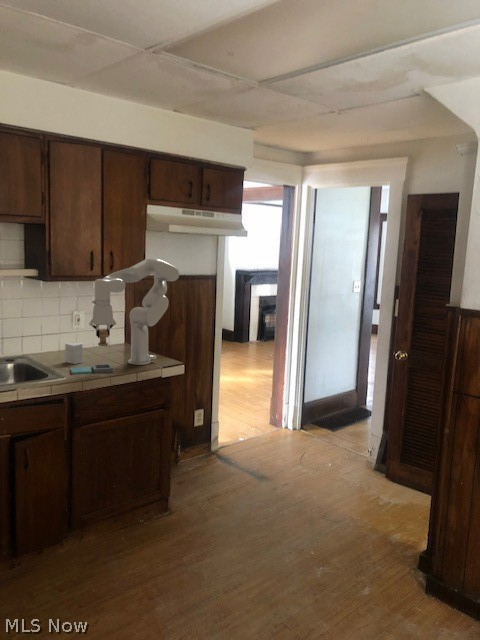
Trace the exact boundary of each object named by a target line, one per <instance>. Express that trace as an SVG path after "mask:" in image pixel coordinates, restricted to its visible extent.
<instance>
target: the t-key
mask: <svg viewBox="0 0 480 640" xmlns="http://www.w3.org/2000/svg"><path fill="white" fill-rule="evenodd" d="M106 329H107V327H106V328H105V327H104V328H99V337H100V338H99V342H98V343H97V346H99V347H107V346H109V342H108V341H107V337H108V331H107V330H106ZM108 338H109V337H108Z"/></svg>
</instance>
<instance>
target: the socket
mask: <svg viewBox="0 0 480 640" xmlns="http://www.w3.org/2000/svg"><path fill="white" fill-rule="evenodd" d="M91 370H92V372H93V374H101V373H102V374H103V373H104V374H105V373H114V372H115V371H114V367H113V365H112V363H103V364H102V363H100V364H99V363H98V364H91Z"/></svg>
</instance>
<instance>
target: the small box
mask: <svg viewBox="0 0 480 640" xmlns="http://www.w3.org/2000/svg"><path fill="white" fill-rule="evenodd" d="M64 346H65V347H64V356H65V363H69V364H72V365H73V364H74V365H78V364H82V363H83V361H84V359H83V358H84V357H83V354H84V353H83V350H84V348H83V344H82V343H79V342H78V343H77V342H68V343H65V345H64Z"/></svg>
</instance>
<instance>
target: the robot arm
mask: <svg viewBox="0 0 480 640" xmlns="http://www.w3.org/2000/svg"><path fill="white" fill-rule="evenodd" d="M150 275H153V280H154V282H153V286H152V287H151V288H150V289H149V291H148V292H147V294H145V296H144V297H143V299H142V301H141V304H142V306H141V307H140V306H137V307H133V308H131V310H130V312H129V322H130V358H129V359H128V361H127V362H128V364H129V365H137V366H140V365H141V366H143V365H149V364H151V363H152V362H151V361H152V360H156V359H157V355H152V354H151V355H150V354H149V327H153V326H155V325H156V324H157V323H158V322H159V320H161V318H162V317H163V316H164V315H165V313H166V311H167V310H168V308H169V304H170V303H169V302H170V301H169V299H168V297H167V296H166V295H167V291H168V285H167V282H175V281H177V280H178V279H179V278H180V272H179V268H178V267H176V266H174V265H172V264H170V263H168V262H166V261H164V260H162V259H159V258H145V259H144V260H141V261H140V262H138V263H136V264H134V265H132V266H130V267H127V268H124V269H121V270H117V271H115V272H112V273H110V274H108V275H106V276H104V277H103V278H97V279H95V281H94V300H92V301H91V303H92V304H93V309H92V319H91V320H90V322H89V323H88V324H89V326H90V327H91V328H93V329H95V335H96V337H97V338H98V339H100V337H99V329H100V328H99V327H100V326H106V330H107V331H108V337H106V339H107V338H109V336H110V335H111V334H110V333H111V332H110V330H111V329H112V328H113V327H114V326H116V325H117V322H116V321H115V319H114V315H113V314H114V313H113V306H112V305H111V293H122V292H123V291H124V290H125V289H126V284H127V283H128V284H129V283H136V282H139V281H141V280H142V279H144V278H146V277H148V276H150Z"/></svg>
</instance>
